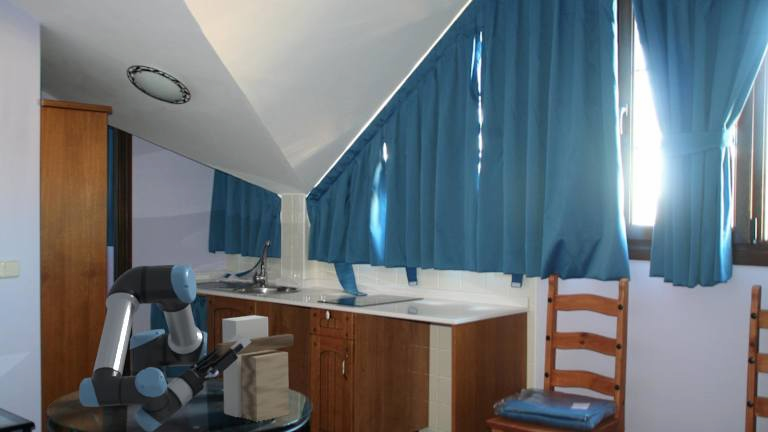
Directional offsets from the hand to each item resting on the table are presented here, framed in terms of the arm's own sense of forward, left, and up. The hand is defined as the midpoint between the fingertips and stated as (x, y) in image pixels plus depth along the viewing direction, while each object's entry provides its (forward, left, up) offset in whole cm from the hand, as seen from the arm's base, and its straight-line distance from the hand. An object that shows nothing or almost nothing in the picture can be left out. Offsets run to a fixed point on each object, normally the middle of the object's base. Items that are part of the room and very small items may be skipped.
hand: (244, 337), depth 223 cm
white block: (-9, +6, -25) cm, 28 cm away
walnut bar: (0, +4, -4) cm, 6 cm away
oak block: (0, +7, -25) cm, 26 cm away
